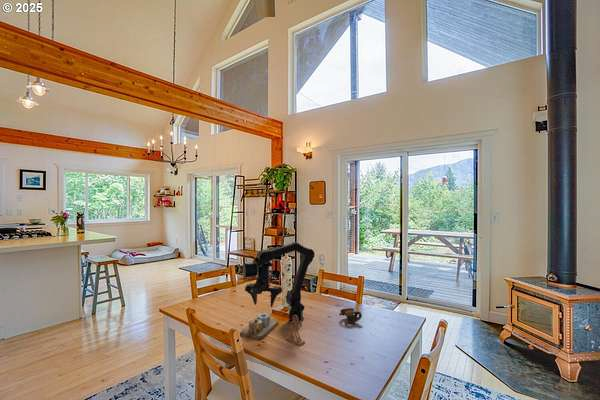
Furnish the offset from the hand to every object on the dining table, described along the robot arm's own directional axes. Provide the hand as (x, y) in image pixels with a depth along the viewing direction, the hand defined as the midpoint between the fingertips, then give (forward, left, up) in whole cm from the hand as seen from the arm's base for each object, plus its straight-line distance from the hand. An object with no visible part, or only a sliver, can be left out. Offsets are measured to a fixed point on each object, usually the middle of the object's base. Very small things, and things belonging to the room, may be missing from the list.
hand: (263, 305), depth 147 cm
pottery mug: (-41, -21, -11) cm, 47 cm away
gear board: (0, +4, -11) cm, 11 cm away
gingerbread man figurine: (-21, +9, -11) cm, 25 cm away
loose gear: (0, 0, -9) cm, 9 cm away
